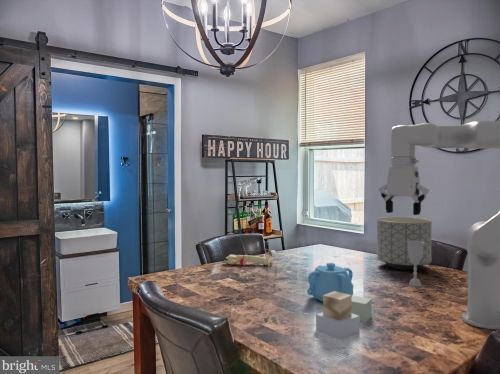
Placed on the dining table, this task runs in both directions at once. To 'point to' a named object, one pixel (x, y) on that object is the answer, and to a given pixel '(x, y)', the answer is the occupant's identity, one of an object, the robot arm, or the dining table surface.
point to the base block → (338, 325)
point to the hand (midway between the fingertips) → (402, 213)
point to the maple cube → (337, 305)
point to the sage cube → (362, 308)
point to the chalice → (415, 258)
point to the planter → (402, 240)
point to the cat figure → (249, 259)
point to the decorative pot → (329, 281)
